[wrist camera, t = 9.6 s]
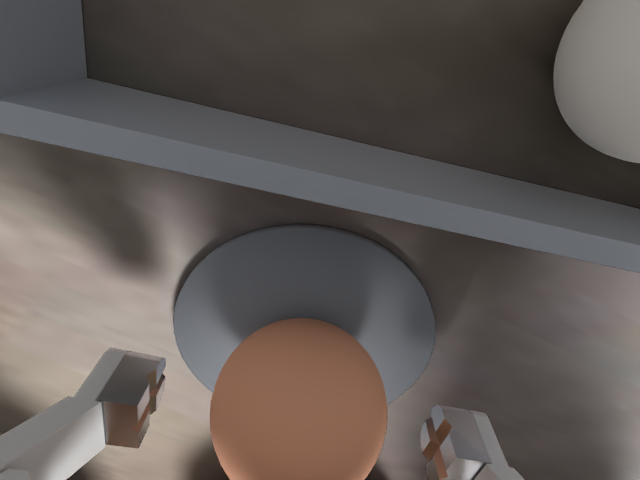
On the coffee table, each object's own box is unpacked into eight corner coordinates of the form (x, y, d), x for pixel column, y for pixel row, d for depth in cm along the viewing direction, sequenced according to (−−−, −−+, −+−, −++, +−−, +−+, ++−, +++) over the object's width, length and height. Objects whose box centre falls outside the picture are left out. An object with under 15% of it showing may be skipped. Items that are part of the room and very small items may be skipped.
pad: (477, 257, 11) (480, 263, 11) (386, 431, 16) (387, 438, 16) (181, 195, 11) (178, 199, 10) (172, 396, 15) (170, 403, 15)
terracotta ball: (397, 302, 12) (434, 458, 8) (355, 400, 14) (365, 561, 10) (242, 270, 11) (188, 417, 7) (226, 377, 14) (178, 535, 10)
